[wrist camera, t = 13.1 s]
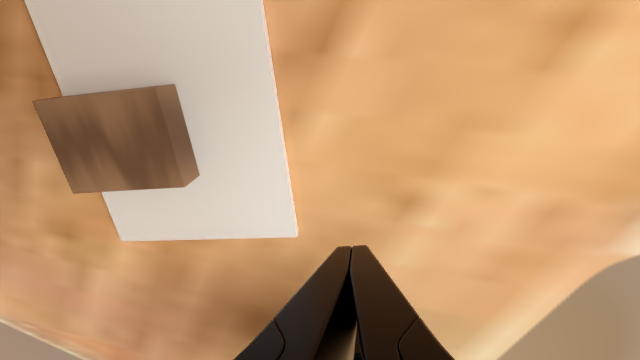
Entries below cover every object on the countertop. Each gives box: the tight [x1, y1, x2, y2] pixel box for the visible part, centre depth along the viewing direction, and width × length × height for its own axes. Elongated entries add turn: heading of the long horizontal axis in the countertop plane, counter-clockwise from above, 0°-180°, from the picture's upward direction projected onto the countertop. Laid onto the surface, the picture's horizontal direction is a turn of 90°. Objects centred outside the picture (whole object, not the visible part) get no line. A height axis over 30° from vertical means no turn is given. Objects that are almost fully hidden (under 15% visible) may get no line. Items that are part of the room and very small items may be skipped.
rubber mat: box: [24, 0, 299, 241], centre depth 20 cm, size 18×14×1 cm
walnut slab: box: [32, 84, 200, 194], centre depth 20 cm, size 6×2×8 cm
